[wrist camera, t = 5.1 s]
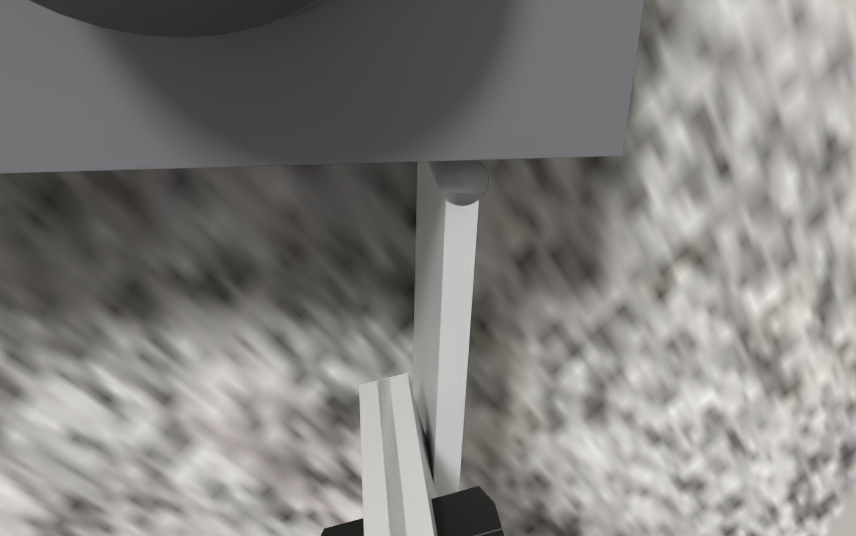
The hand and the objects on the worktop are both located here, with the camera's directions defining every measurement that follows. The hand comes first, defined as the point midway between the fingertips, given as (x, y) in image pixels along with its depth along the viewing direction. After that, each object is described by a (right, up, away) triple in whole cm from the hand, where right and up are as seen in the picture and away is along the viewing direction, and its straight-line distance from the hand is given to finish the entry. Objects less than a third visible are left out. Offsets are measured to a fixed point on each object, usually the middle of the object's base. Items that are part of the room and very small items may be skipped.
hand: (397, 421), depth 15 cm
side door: (+1, +4, +3) cm, 5 cm away
